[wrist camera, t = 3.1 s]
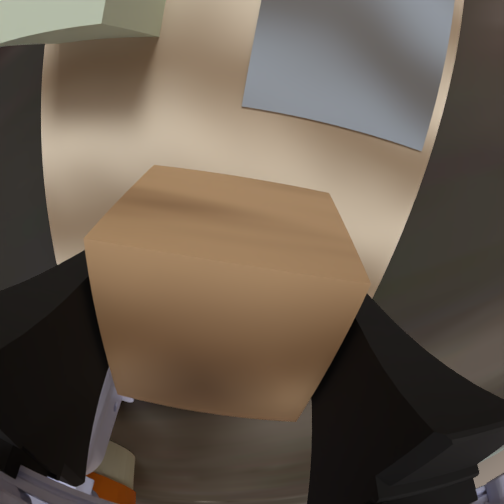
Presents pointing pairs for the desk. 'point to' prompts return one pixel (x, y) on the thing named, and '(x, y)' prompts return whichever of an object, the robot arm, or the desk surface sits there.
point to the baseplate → (255, 108)
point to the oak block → (223, 292)
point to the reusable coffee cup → (115, 475)
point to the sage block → (77, 20)
